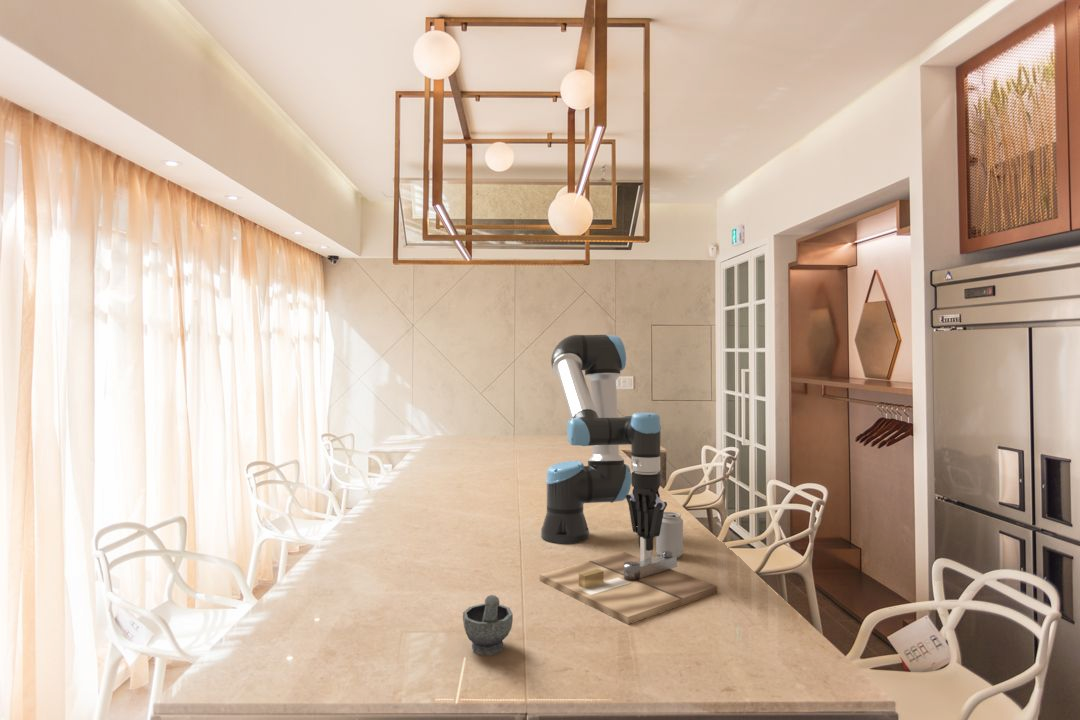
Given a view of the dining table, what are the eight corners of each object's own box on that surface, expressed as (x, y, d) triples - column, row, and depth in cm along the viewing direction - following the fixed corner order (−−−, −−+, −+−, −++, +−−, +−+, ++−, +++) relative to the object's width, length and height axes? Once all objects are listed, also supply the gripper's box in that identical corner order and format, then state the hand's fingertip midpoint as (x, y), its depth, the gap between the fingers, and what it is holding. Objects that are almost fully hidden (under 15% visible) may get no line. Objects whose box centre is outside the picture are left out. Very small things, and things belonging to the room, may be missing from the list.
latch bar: (631, 582, 152) (631, 566, 152) (620, 577, 156) (620, 561, 156) (678, 568, 163) (678, 553, 162) (666, 563, 166) (666, 549, 166)
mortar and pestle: (460, 639, 125) (460, 580, 125) (506, 634, 128) (506, 576, 128) (468, 666, 114) (468, 602, 114) (517, 660, 117) (517, 597, 117)
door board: (539, 580, 158) (539, 562, 158) (624, 557, 176) (624, 541, 176) (627, 624, 132) (627, 603, 132) (717, 592, 150) (717, 573, 150)
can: (683, 560, 174) (683, 517, 174) (656, 558, 175) (656, 516, 175) (682, 552, 181) (682, 511, 181) (656, 550, 183) (656, 510, 182)
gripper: (618, 469, 166) (618, 557, 166) (654, 477, 155) (654, 571, 155) (638, 466, 170) (638, 552, 170) (674, 474, 159) (674, 565, 159)
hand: (645, 561), depth 162 cm, fingers closed
